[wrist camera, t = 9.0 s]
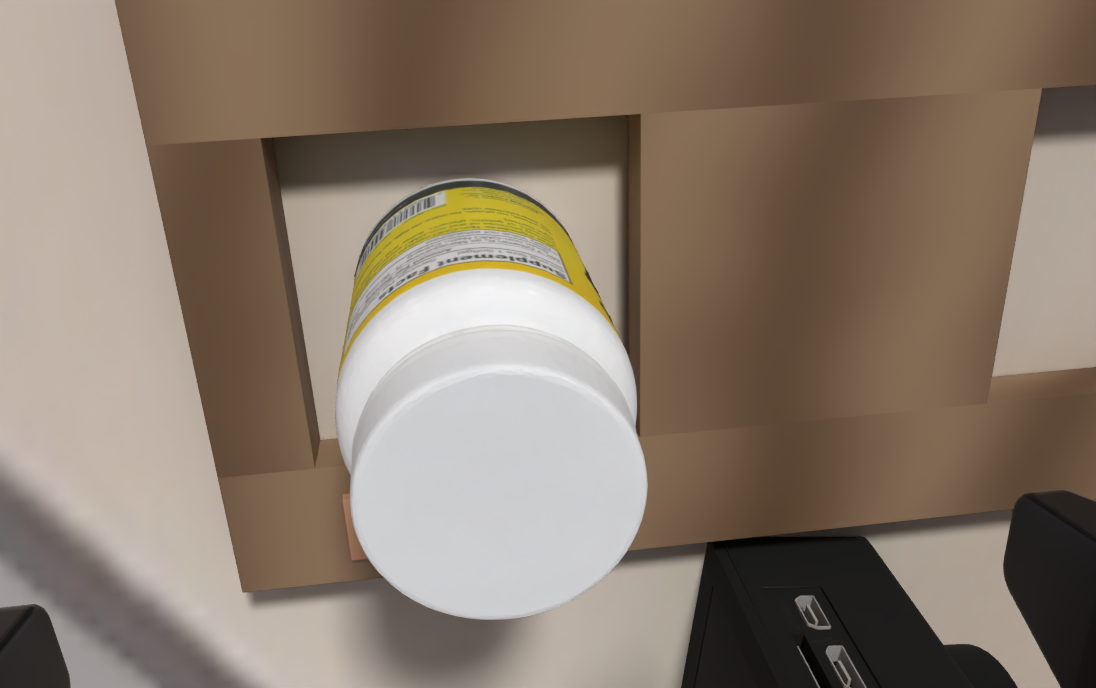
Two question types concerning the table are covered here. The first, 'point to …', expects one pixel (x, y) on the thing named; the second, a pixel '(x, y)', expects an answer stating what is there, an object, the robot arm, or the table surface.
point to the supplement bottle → (486, 407)
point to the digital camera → (818, 622)
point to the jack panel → (656, 240)
